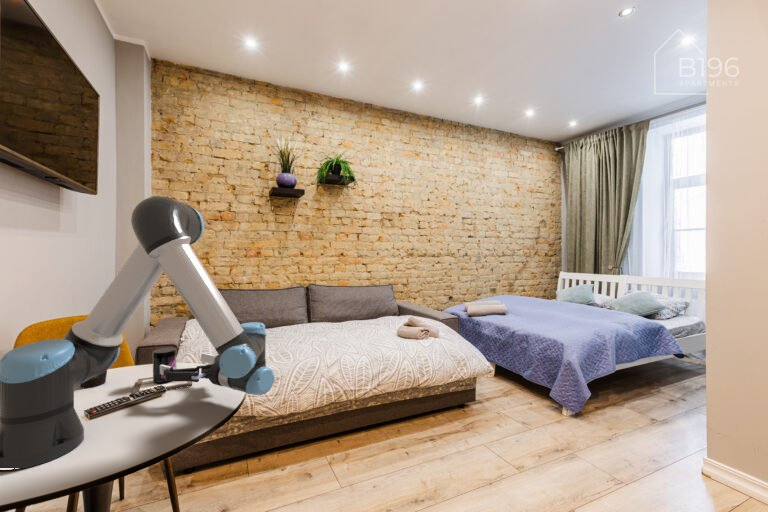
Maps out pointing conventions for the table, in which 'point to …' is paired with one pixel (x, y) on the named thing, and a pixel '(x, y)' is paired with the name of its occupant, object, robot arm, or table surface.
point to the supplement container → (163, 363)
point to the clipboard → (148, 383)
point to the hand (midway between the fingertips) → (182, 362)
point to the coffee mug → (95, 381)
